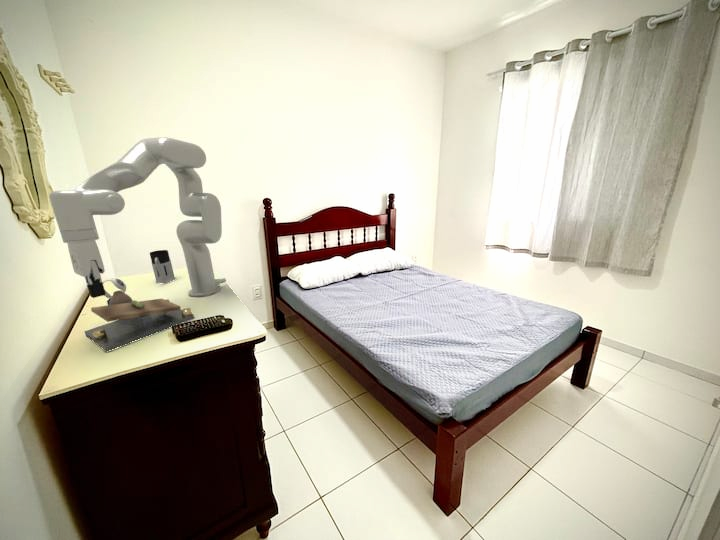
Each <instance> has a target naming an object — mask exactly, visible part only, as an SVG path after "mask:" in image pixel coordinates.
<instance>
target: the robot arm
mask: <svg viewBox="0 0 720 540" xmlns="http://www.w3.org/2000/svg"><path fill="white" fill-rule="evenodd" d="M206 163H207V156H206V153H205V151H204V150H203V148H202V147H201V146H200V145H197V144H195V143H193V142H187V141H183V140H180V139H176V138H171V137H166V136H163V137H162V136H159V137H149V138H143V139H141V140H139V141H138V142H137V143H135V144H134V145H133V146H132V147H131V148H130V149H129V150H128V151H127V152H126V153H124V154H123V156H121V157H120V158H119V159H118V160H117V161H116V162H113V164H110V165H109V166H106V167H105V168H104V169H102V170H99V171H98V172H96V173H94V174H93V175H92V174H91V176H89V177H88V178H87V179H85V180H84V181H83V182H82V183H80V184H79V185H78V187H77V188H75V189H74V190H73V189H72V190H54V191H51V192H49V194H48V198H49V201H50V204H51V207H52V211H53V213H54V217H55V220H56V224H57V226H58V231H59V233H60V235H61V236H60V237H61V239H62V243H64V244H67V248H68V254H69V258H70V261H71V266H72V269H73V272H74V273H75V274H77V275H78V276H80V277H83V278H84V280H85V283H86V287H87V290H88V293H89V296H90V297H91V298H93V299H95V298H98V297H104V295H105V294H106V293H105V291H106V289H105V286H104V283H102V282H103V280H102V276H101V274H104V273H105V271H106V270H105V266H104V262H103V259H102V255H101V252H100V250H99V247H98V244H97V241H98V240H99V239H100V237H99V233H98V231H97V230H98V229H97V225H96V222H95V219H94V216H114V215H116V214H119V213H121V212H122V211H123V210H124V209H125V206H126V202H125V199H124V197H123V196H122V195H121V194H120V193H119V192H121V191H123V190H127V189H130V188H134V187H135V186H138V185H140V184H143V183H144V182H145V181H146V180H147V179H148V178H149V177H150V175H152V174H153V172H154V171H155V170H156V169H158V167H159V166H161V165H165V166H166V167H167V168H169V169H170V171H172V173H173V174H174V176H175V177H176V179H177V183H178V185H177V186H178V201H179V209H180V212H181V213H182V214H183V216H186V217H189V218H191V217H192V218H195V217H196V218H201V220H200V219H188V220H184V221H181V222H180V223H178V224H177V226H176V236H177V238H178V240H179V243H180V245H181V248H182V251H183V255H184V259H185V264H186V269H187V273H188V277H189V278H188V279H189V282H190V287H191V288H190V290H189V291H188V296H190V297H193V298H198V297H199V298H201V297H207V296H211V295H213V294H214V295H215V294H217V293H218V292H220V291H221V286H220V284H223V283H226V282H227V280H226V278H225V277H223V278H215V272H214V269H213V268H214V267H213V262H212V257H211V252H210V249H209V247H208V246H207V244H216V243H218V242H219V241H220V239H221V237H222V231H223V230H222V229H223V226H222V224H223V223H222V206H221V202H220V200H219V198H218V197H217V196H216V195H214V194H213V193H210V192H204V191H203V181H202V178H201V176H200V175H199V174H198V172H197V171H196V170H195V169H200V168H203V167H204V166H205V165H206ZM104 289H105V290H104Z"/></svg>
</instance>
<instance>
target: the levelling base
mask: <svg viewBox="0 0 720 540" xmlns="http://www.w3.org/2000/svg"><path fill="white" fill-rule="evenodd" d="M165 300H167V301H169V302H170V299H167V298H166V299H165ZM193 319H195V314H193V313H192V309H191V308H190V307H188V308H187V307H186V308H183V309H182V308H181V310H175V311H169V312H163V313H157V314H151V315H146V316H139V317H133V318H127V319H121V320H115V321H110V322H107V323H106V324H102V325H100V326H97V327H94V328H91V329H87V330H84V332H83V333H84V335H85V337H87V336H88V337H89V338H90V340H91V341H92V340H93V341H94V342H95V344H96V343H97V344H98V345H99V346H100V347H99V346H98V345H97V344H96V345H97V346H98V347H99V348H101V347H102V348H103V349H104V350H105V352H106V351H109V350H112V349H115V348H117V347H120V346H123V345H125V344H128V343H130V342H132V341H135V340H138V339H140V338H143V337H146V336H148V337H150V336H149V335H151V334H153V335H155V334H154V333H156V332H158V333H160V332H159V331H161V332H163V331H165V330H164V329H166V330H167V328H168V329H170V328H169V327H171V326H173V325H176V324H179V325H181V324H183V323H182V322H184V323H186V322H189V321H190V320H193ZM188 320H189V321H188ZM180 323H181V324H180ZM176 326H177V325H176ZM173 327H174V326H173ZM171 328H172V327H171ZM162 330H163V331H162ZM156 334H157V333H156ZM151 336H152V335H151ZM88 337H87V338H88ZM89 338H88V339H89ZM146 338H147V337H146ZM143 339H144V338H143ZM93 341H92V342H93ZM138 341H139V340H138ZM94 342H93V343H94ZM128 345H129V344H128ZM125 346H126V345H125ZM123 347H124V346H123ZM102 348H101V349H102ZM120 348H121V347H120ZM103 349H102V350H103ZM104 350H103V351H104ZM115 350H116V349H115Z"/></svg>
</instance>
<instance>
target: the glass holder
mask: <svg viewBox="0 0 720 540" xmlns="http://www.w3.org/2000/svg"><path fill="white" fill-rule="evenodd" d="M149 256H150V261H151V266H152V270H153V274H154V277H155V282H156V283H164V284H167V283H166V282H169V283H171V282H170V281H173V280H175V279H176V280H177V278H176V277H175V273H174V269H173V265H172V261H171V258H170V254H169V250H167V249H162V250H154V251H150V252H149ZM176 280H175V281H176ZM173 282H174V281H173ZM156 283H155V284H156Z"/></svg>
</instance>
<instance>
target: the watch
mask: <svg viewBox="0 0 720 540" xmlns="http://www.w3.org/2000/svg"><path fill="white" fill-rule="evenodd" d="M106 282H111V283H112V285H113V286H114V287H116V288H117V289H118V290H121V291H122V292H124V293H125V294H126V292H127V284H125V282H124V281H123V280H122V279H119V278H114V277H111V278H107V279H105V280H104V281H102V283H103V284H104V283H106ZM104 290H105V293H106V294H105V295H103V297H105V298H106V299H108V300H106V303H107V306H108V305H109V302H110V299H111V297H112V296H113V295H111V294H110V293H108V291H106V289H105V288H104Z"/></svg>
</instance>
